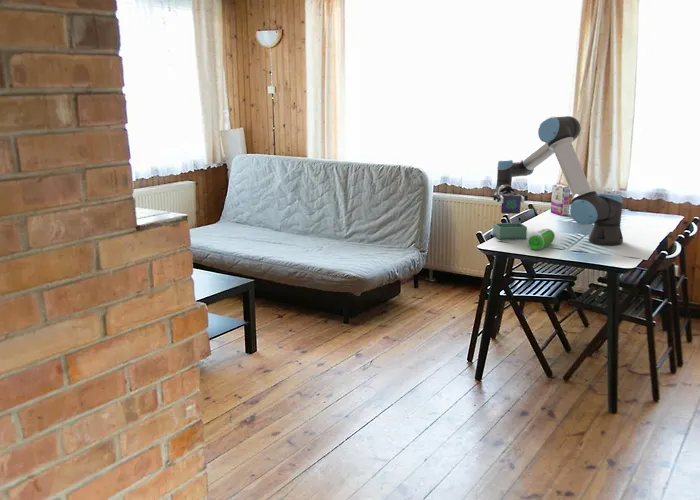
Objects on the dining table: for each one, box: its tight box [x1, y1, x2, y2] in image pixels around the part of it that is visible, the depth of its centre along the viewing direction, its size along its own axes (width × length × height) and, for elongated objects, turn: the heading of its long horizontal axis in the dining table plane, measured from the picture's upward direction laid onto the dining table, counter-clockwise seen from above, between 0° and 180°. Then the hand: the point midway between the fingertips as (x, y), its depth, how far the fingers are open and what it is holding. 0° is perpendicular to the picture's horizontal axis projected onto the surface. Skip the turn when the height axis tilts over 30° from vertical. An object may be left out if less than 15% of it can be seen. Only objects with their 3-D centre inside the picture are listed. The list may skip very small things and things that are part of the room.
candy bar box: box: [550, 183, 571, 216], centre depth 377 cm, size 11×5×16 cm, turn 17°
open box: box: [492, 222, 528, 241], centre depth 323 cm, size 10×13×6 cm
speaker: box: [527, 228, 555, 251], centre depth 304 cm, size 18×7×8 cm, turn 145°
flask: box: [500, 192, 522, 215], centre depth 320 cm, size 9×3×11 cm, turn 87°
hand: (512, 200), depth 315 cm, fingers closed on flask, 9 cm apart
